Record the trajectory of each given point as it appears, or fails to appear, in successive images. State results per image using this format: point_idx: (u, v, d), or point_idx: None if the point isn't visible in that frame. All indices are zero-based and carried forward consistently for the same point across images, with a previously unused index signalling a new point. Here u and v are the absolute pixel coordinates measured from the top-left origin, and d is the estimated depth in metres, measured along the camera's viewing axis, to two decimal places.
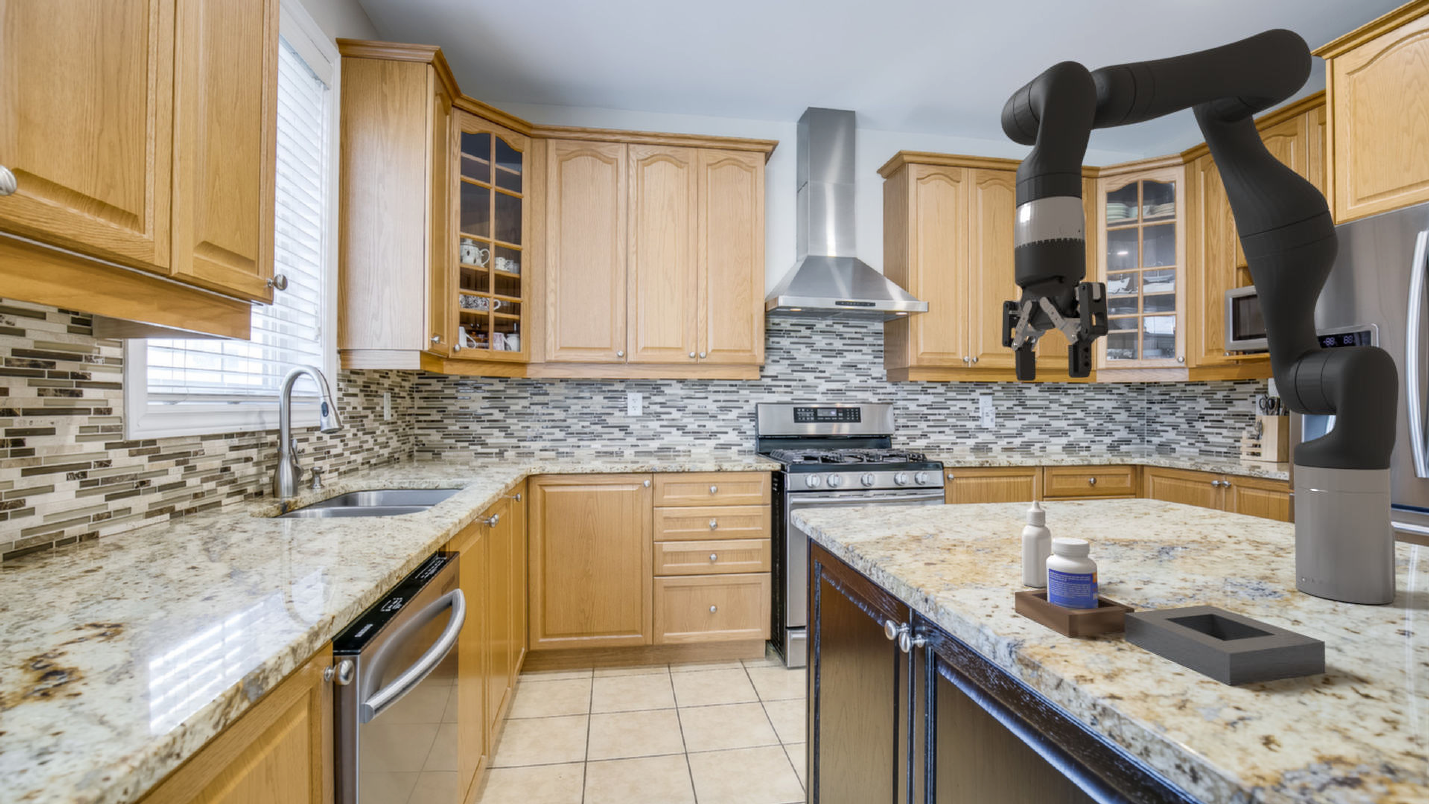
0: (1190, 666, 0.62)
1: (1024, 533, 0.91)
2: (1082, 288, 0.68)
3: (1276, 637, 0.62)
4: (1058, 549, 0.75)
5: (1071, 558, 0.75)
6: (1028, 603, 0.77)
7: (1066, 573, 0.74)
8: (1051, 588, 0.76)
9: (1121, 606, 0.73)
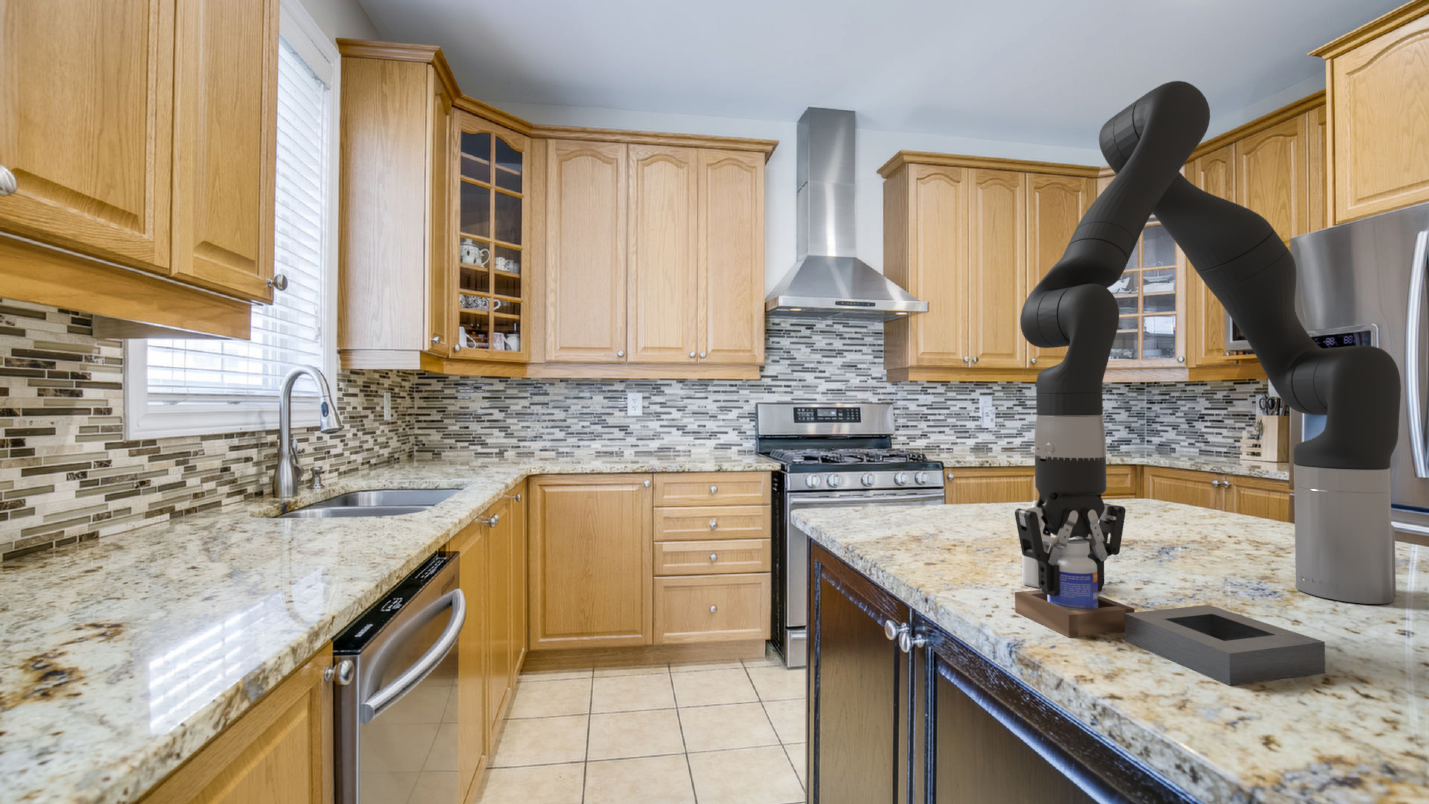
0: (1190, 666, 0.62)
1: None
2: (1122, 512, 0.76)
3: (1276, 637, 0.62)
4: None
5: (1071, 557, 0.75)
6: (1028, 603, 0.77)
7: (1066, 573, 0.74)
8: None
9: (1121, 606, 0.73)
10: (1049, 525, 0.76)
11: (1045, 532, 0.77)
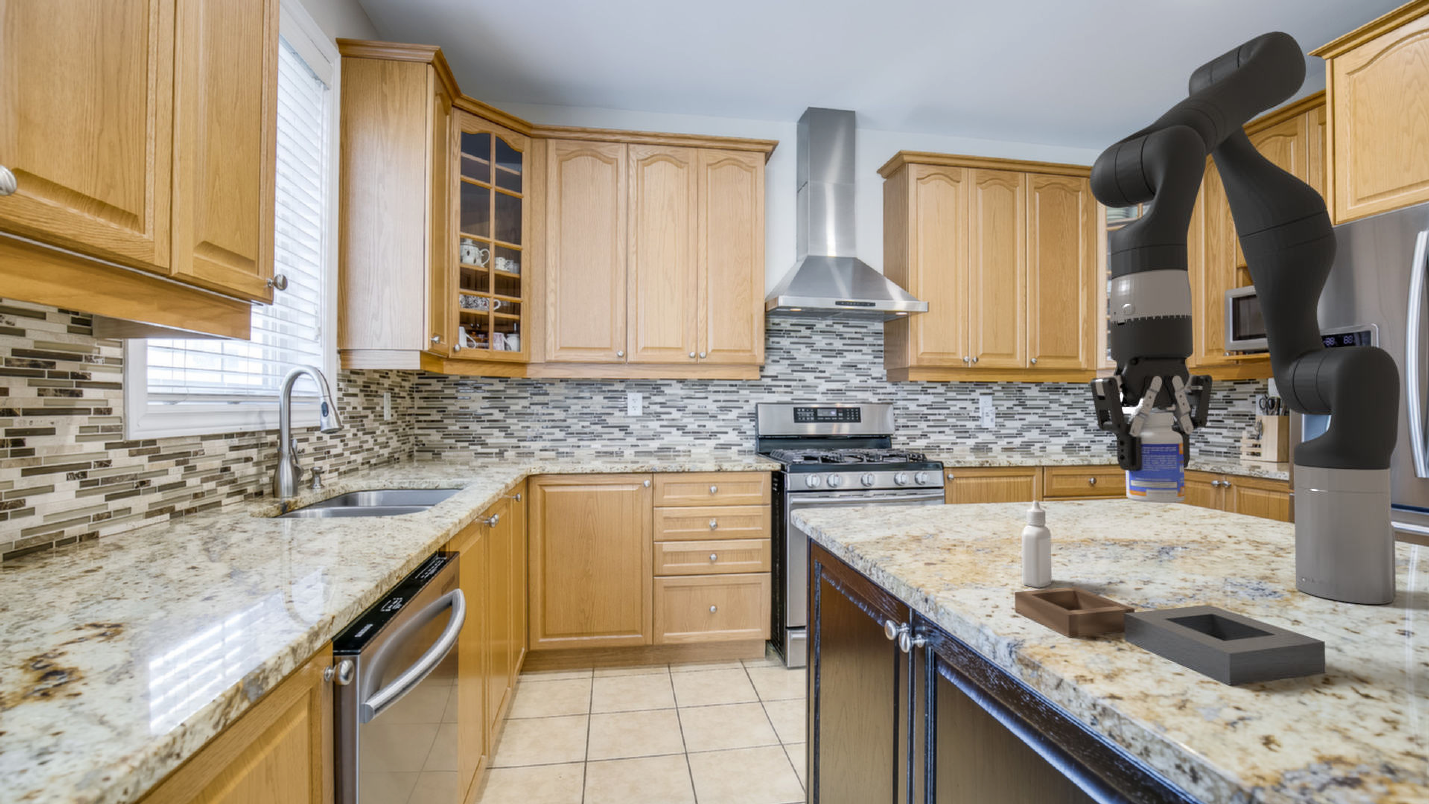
0: (1190, 666, 0.62)
1: (1024, 533, 0.91)
2: (1208, 381, 0.70)
3: (1276, 637, 0.62)
4: None
5: (1153, 429, 0.68)
6: (1028, 603, 0.77)
7: (1149, 444, 0.68)
8: None
9: (1121, 606, 0.73)
10: (1129, 395, 0.69)
11: (1123, 405, 0.70)
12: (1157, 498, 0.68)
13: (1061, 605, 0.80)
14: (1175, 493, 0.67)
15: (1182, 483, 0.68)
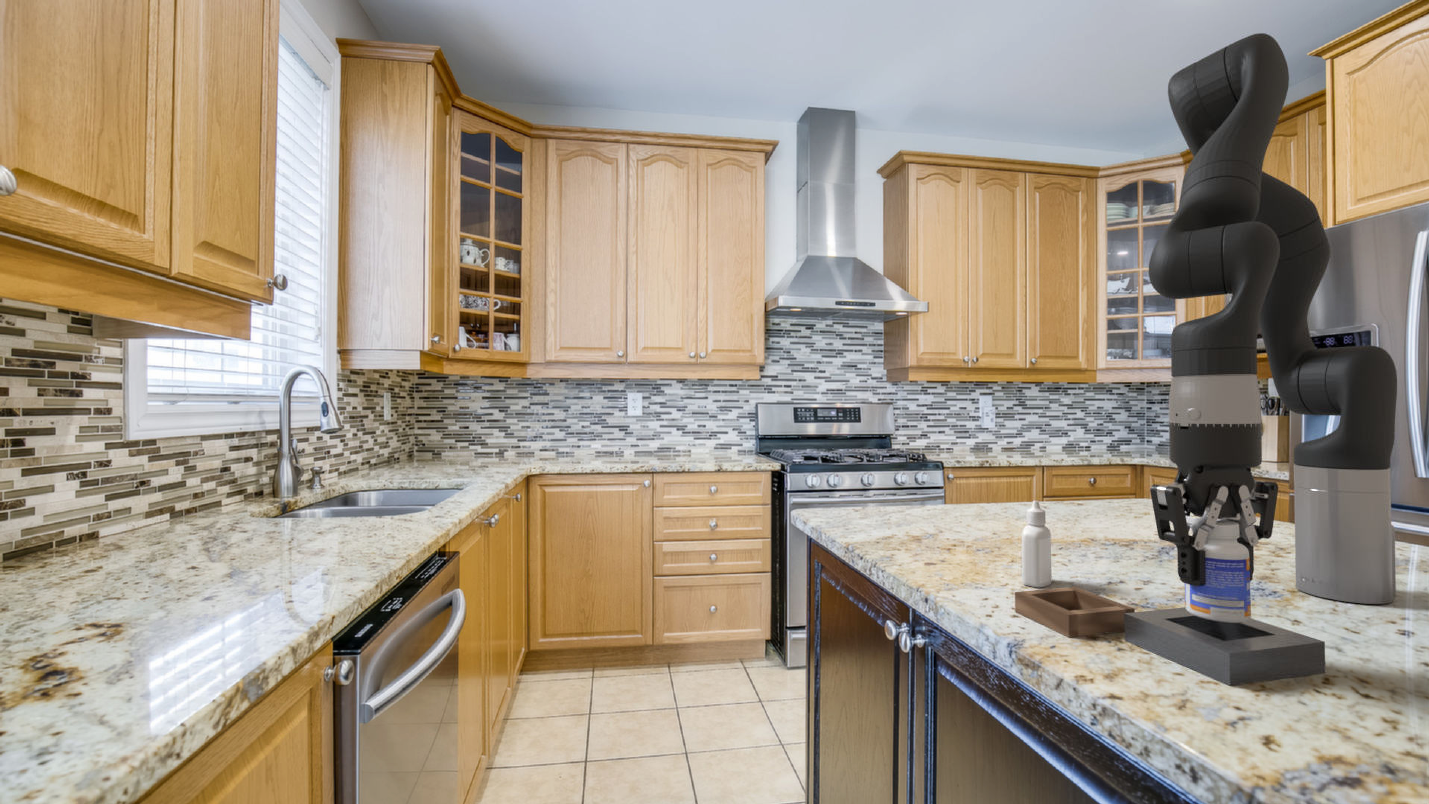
0: (1190, 666, 0.62)
1: (1024, 533, 0.91)
2: (1274, 489, 0.65)
3: (1276, 637, 0.62)
4: None
5: (1218, 541, 0.64)
6: (1028, 603, 0.77)
7: (1214, 559, 0.63)
8: None
9: (1121, 606, 0.73)
10: (1191, 504, 0.65)
11: None
12: (1222, 617, 0.63)
13: (1061, 605, 0.80)
14: (1242, 613, 0.63)
15: (1249, 601, 0.63)
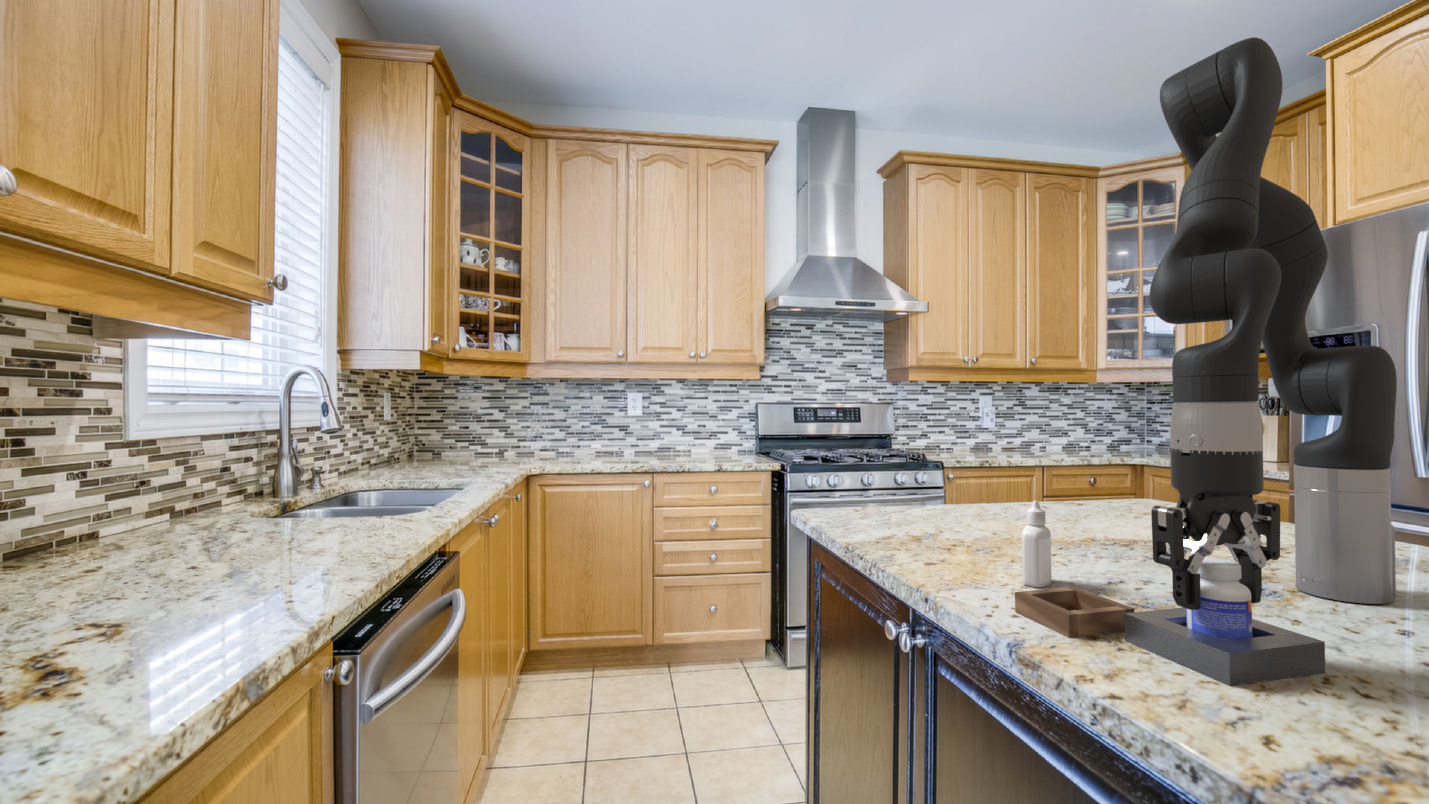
0: (1190, 666, 0.62)
1: (1024, 533, 0.91)
2: (1276, 510, 0.65)
3: (1276, 637, 0.62)
4: (1204, 573, 0.65)
5: (1220, 582, 0.64)
6: (1028, 603, 0.77)
7: (1216, 601, 0.63)
8: (1195, 617, 0.65)
9: (1121, 606, 0.73)
10: (1191, 528, 0.65)
11: (1182, 536, 0.66)
12: None
13: (1061, 605, 0.80)
14: None
15: None
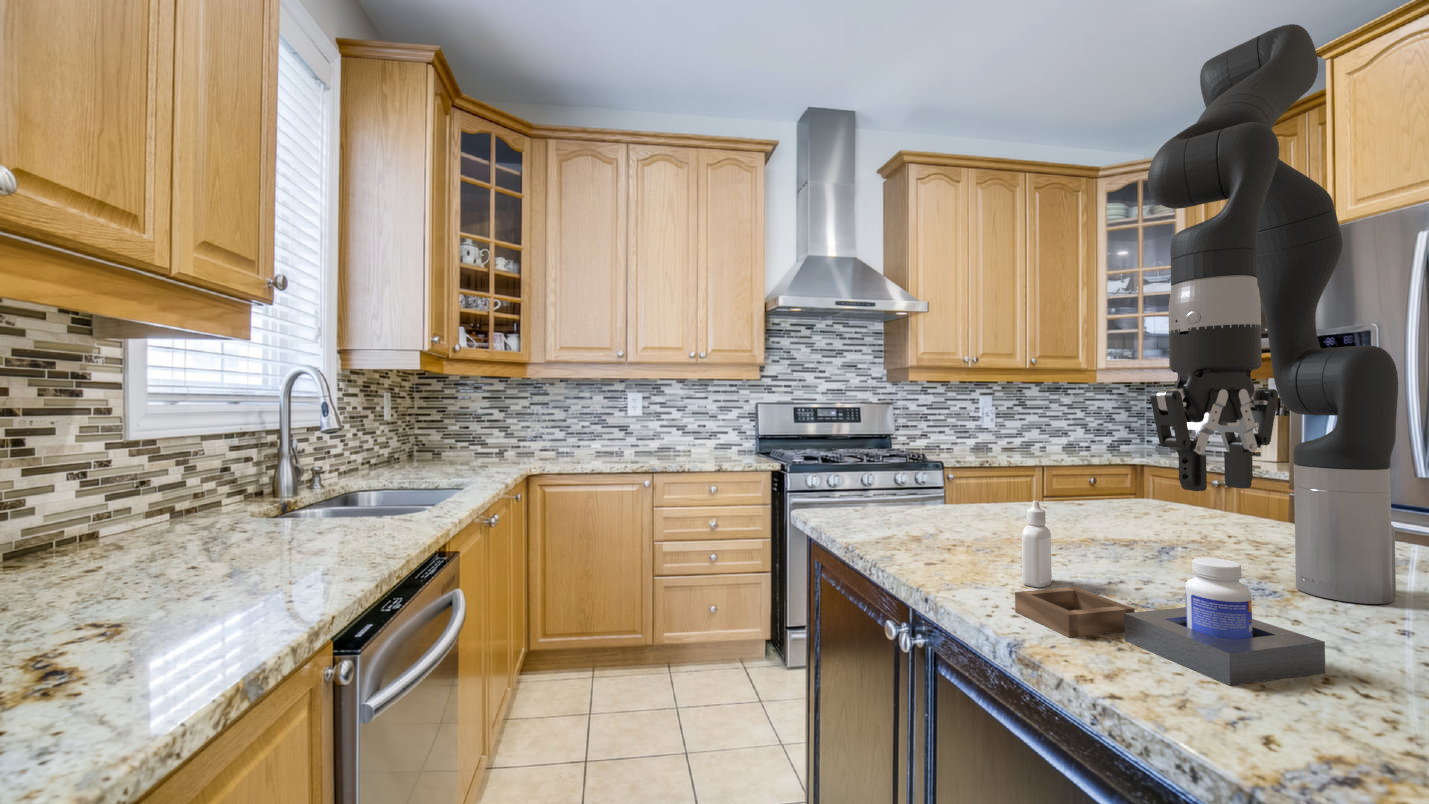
0: (1190, 666, 0.62)
1: (1024, 533, 0.91)
2: (1274, 396, 0.65)
3: (1276, 637, 0.62)
4: (1204, 573, 0.65)
5: (1221, 582, 0.64)
6: (1028, 603, 0.77)
7: (1216, 601, 0.63)
8: (1195, 618, 0.65)
9: (1121, 606, 0.73)
10: (1191, 410, 0.65)
11: None
12: None
13: (1061, 605, 0.80)
14: None
15: None
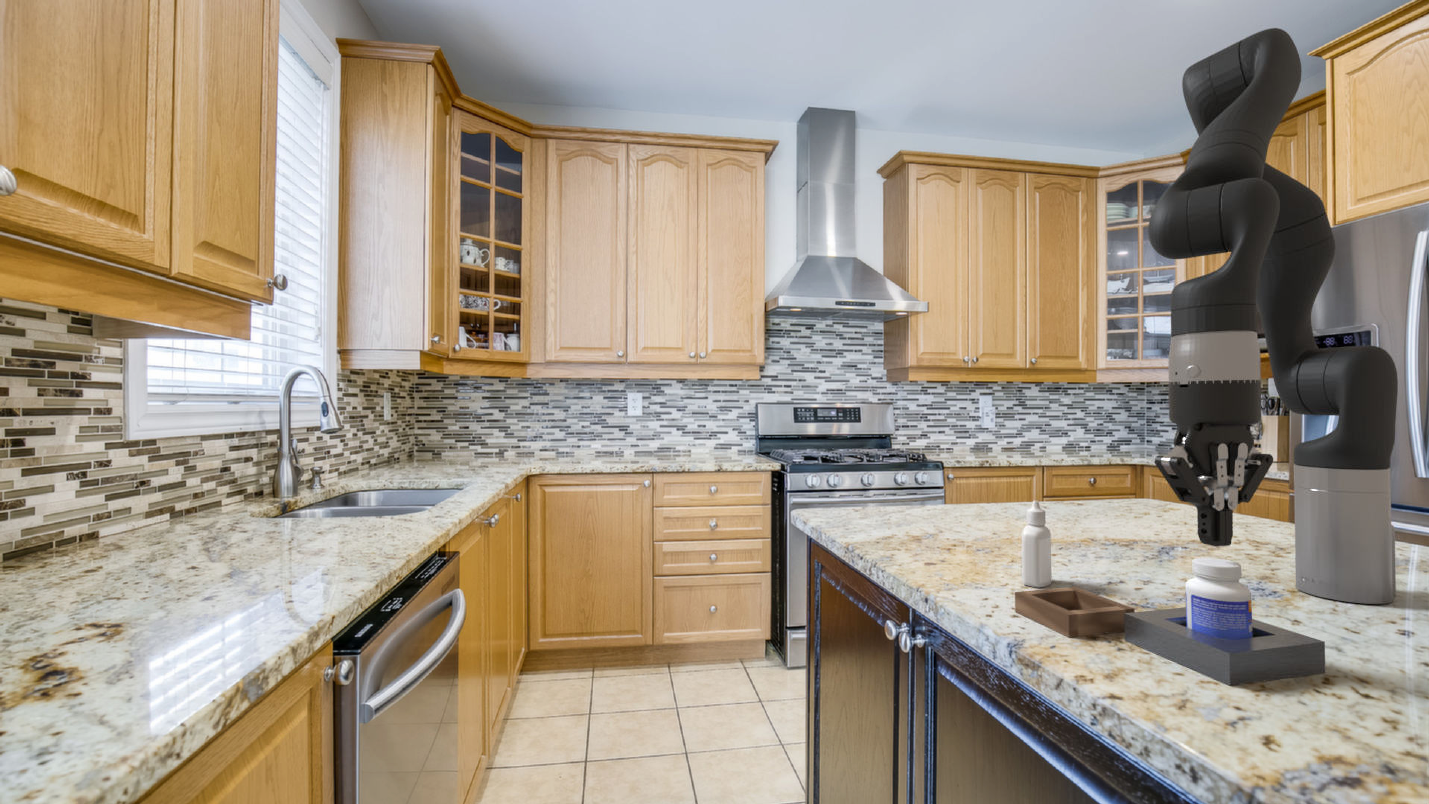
0: (1190, 666, 0.62)
1: (1024, 533, 0.91)
2: (1269, 461, 0.65)
3: (1276, 637, 0.62)
4: (1204, 573, 0.65)
5: (1221, 582, 0.64)
6: (1028, 603, 0.77)
7: (1216, 601, 0.63)
8: (1195, 618, 0.65)
9: (1121, 606, 0.73)
10: None
11: None
12: None
13: (1061, 605, 0.80)
14: None
15: None
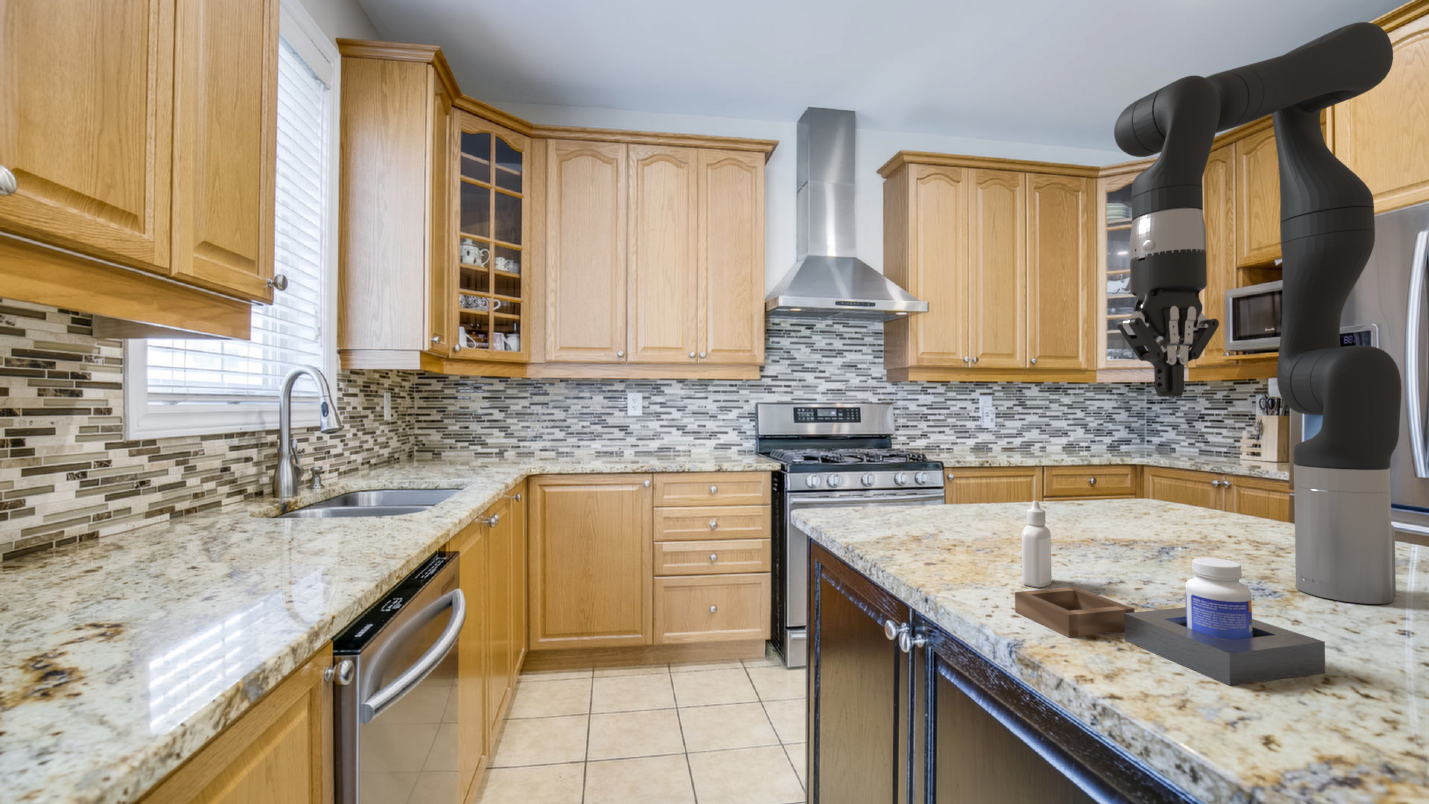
0: (1190, 666, 0.62)
1: (1024, 533, 0.91)
2: (1215, 324, 0.76)
3: (1276, 637, 0.62)
4: (1204, 573, 0.65)
5: (1221, 582, 0.64)
6: (1028, 603, 0.77)
7: (1216, 601, 0.63)
8: (1195, 618, 0.65)
9: (1121, 606, 0.73)
10: None
11: None
12: None
13: (1061, 605, 0.80)
14: None
15: None
